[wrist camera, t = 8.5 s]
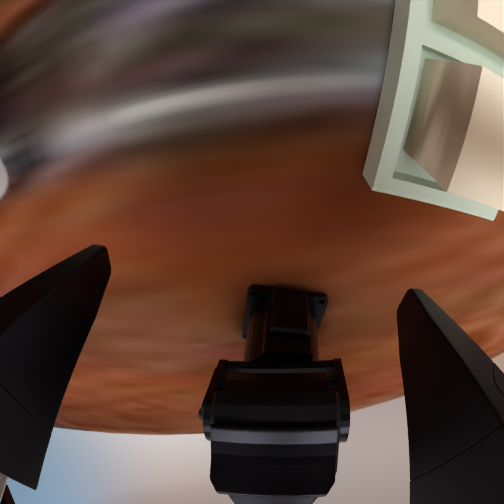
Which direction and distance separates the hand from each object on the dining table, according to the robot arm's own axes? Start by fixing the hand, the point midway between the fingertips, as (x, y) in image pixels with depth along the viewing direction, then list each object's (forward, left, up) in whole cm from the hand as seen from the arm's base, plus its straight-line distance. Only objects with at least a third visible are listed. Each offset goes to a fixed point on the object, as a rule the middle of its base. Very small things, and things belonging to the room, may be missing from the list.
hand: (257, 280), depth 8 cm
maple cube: (+5, -11, -11) cm, 16 cm away
